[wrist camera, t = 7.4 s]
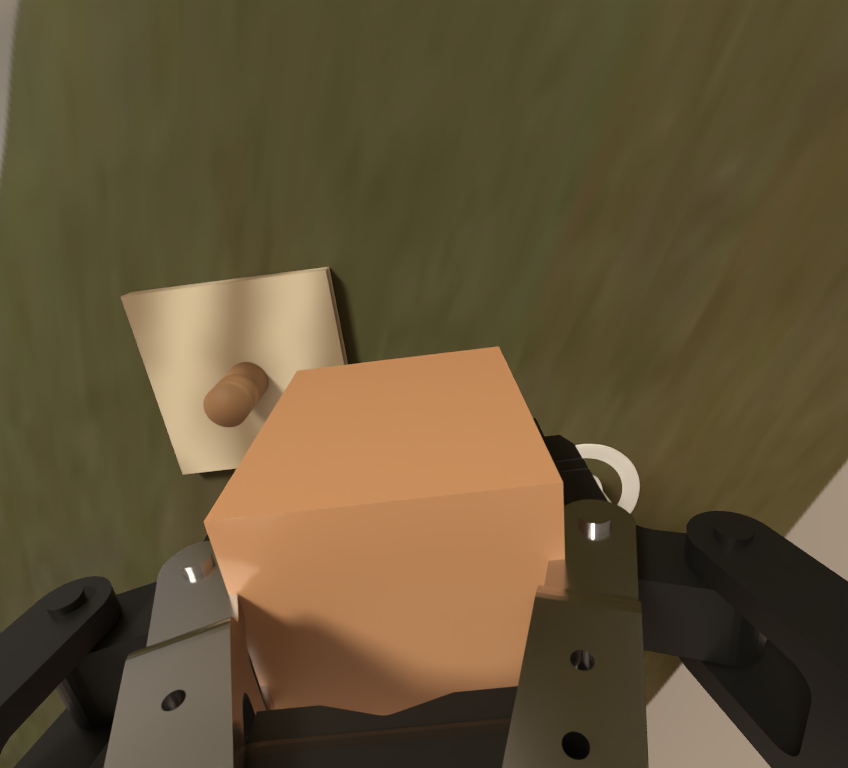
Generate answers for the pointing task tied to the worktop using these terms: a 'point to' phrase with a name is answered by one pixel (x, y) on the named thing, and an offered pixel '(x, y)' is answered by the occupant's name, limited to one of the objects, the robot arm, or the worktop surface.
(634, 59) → the worktop surface
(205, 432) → the post base
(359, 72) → the worktop surface
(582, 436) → the worktop surface
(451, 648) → the salmon cube
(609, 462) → the white ring and cup
